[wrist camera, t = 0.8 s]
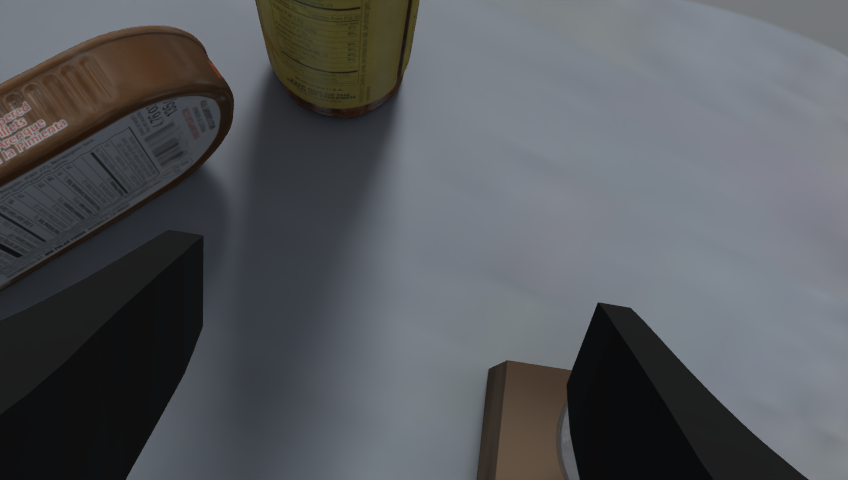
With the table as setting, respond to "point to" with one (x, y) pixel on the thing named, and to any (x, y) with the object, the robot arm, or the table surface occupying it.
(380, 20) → the sauce bottle
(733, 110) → the table surface
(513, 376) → the stand
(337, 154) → the table surface
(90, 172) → the tin
